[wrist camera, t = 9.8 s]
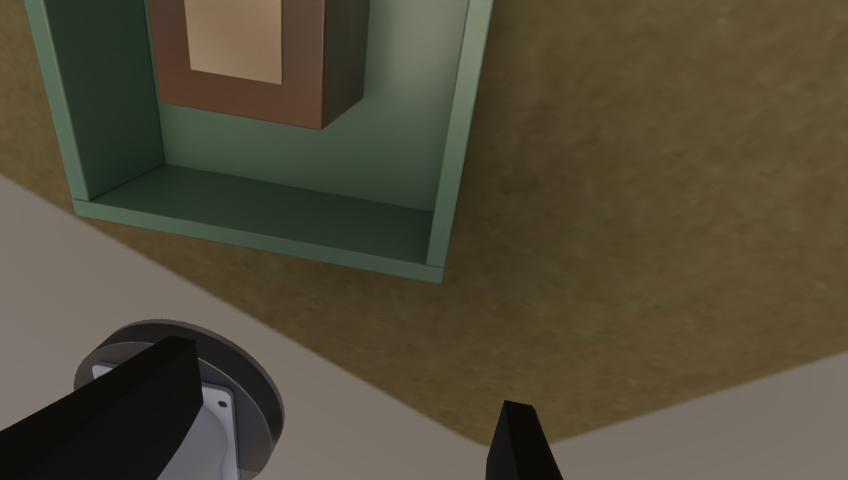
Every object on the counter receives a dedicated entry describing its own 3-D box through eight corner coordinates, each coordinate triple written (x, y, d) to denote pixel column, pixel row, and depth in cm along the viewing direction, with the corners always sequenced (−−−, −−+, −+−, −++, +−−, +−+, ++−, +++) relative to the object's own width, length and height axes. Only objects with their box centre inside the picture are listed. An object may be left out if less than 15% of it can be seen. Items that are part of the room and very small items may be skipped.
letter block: (363, 99, 16) (320, 132, 12) (239, 77, 16) (157, 104, 12) (374, -51, 14) (327, -71, 10) (231, -73, 14) (129, -101, 10)
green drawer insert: (452, 222, 19) (441, 284, 15) (162, 169, 19) (75, 215, 15) (533, -217, 12) (554, -320, 8) (101, -274, 13) (-75, -396, 9)
